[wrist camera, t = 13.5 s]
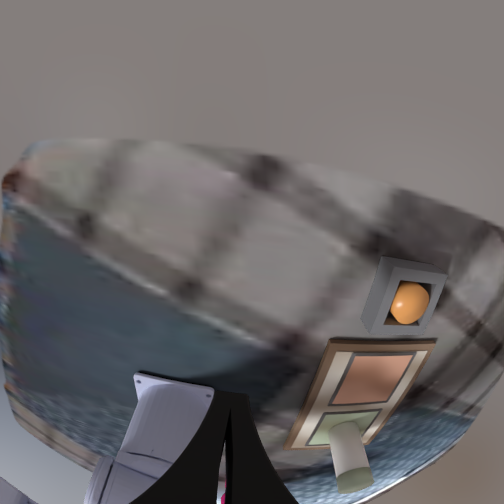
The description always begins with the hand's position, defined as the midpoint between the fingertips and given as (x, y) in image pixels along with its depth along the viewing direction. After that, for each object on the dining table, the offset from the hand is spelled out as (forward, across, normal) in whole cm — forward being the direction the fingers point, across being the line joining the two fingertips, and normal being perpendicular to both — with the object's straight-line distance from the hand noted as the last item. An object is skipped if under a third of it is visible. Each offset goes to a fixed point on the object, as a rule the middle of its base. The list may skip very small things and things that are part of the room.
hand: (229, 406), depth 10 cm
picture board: (+10, -14, +12) cm, 21 cm away
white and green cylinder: (+9, -14, +16) cm, 23 cm away
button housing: (+10, -13, -2) cm, 17 cm away
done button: (+10, -13, -2) cm, 16 cm away
